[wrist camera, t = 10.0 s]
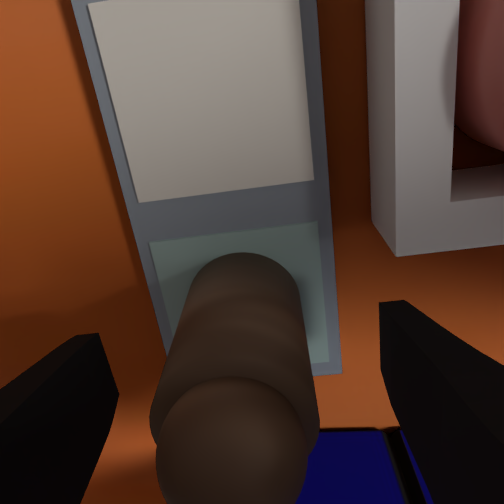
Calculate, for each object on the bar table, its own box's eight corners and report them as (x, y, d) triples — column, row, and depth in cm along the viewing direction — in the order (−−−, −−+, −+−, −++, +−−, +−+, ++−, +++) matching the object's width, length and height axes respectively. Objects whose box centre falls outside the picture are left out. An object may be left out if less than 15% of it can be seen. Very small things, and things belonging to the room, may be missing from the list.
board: (279, -478, 7) (280, -522, 7) (339, 363, 15) (342, 375, 14) (-28, -402, 8) (-49, -437, 7) (178, 379, 15) (175, 391, 14)
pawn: (294, 246, 12) (329, 437, 6) (304, 344, 14) (340, 585, 7) (177, 259, 12) (92, 456, 6) (198, 354, 14) (146, 594, 8)
